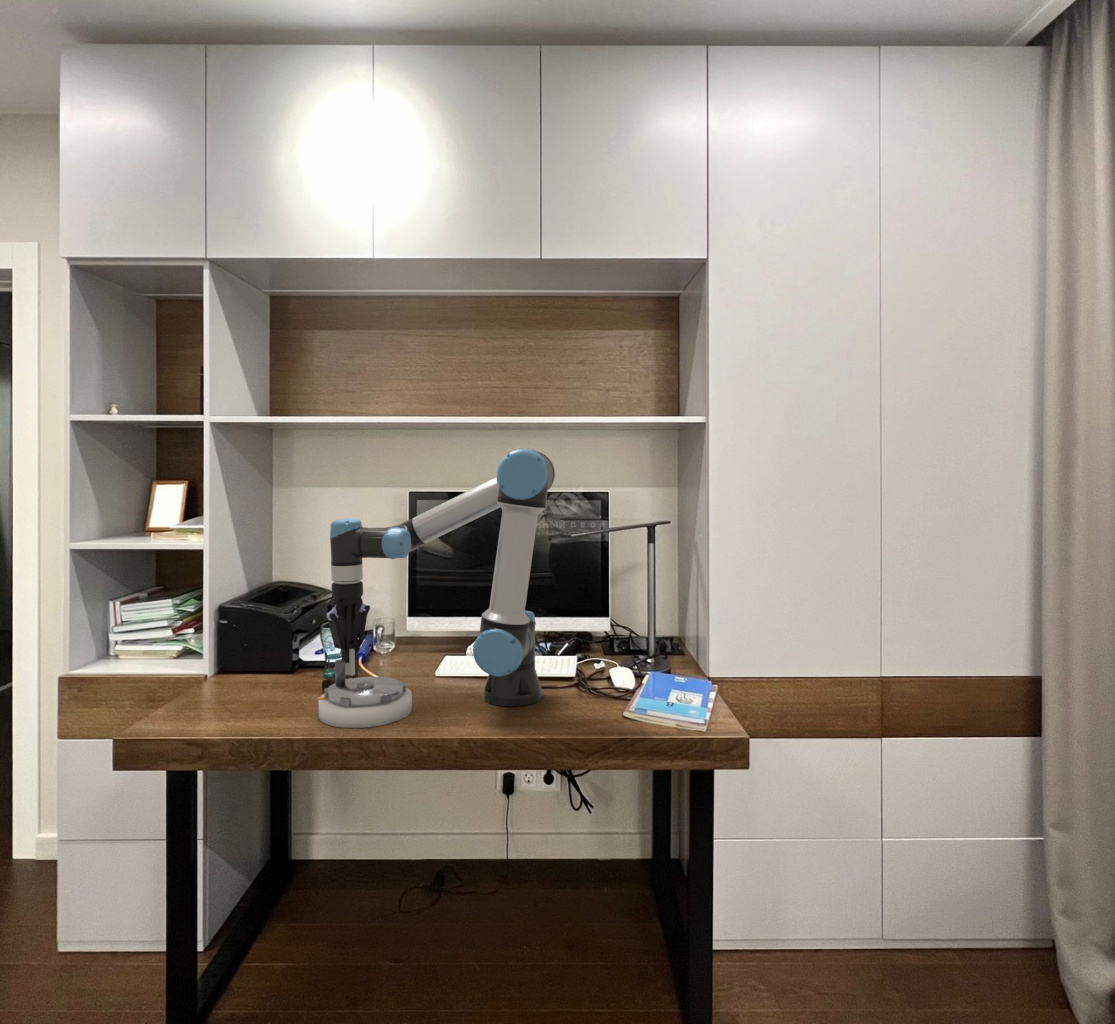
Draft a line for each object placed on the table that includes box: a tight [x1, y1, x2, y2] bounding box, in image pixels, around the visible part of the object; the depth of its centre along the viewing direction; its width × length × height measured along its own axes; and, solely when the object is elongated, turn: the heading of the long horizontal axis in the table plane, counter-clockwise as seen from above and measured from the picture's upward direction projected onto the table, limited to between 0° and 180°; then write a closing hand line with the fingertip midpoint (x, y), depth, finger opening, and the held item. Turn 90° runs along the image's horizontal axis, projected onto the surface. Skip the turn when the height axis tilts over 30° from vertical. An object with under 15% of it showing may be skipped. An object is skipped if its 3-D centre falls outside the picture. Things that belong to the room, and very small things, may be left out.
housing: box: [317, 687, 413, 729], centre depth 173 cm, size 22×22×4 cm
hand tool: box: [321, 660, 359, 693], centre depth 198 cm, size 19×4×5 cm, turn 170°
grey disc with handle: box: [323, 658, 407, 707], centre depth 173 cm, size 18×19×8 cm
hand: (349, 674), depth 177 cm, fingers closed
